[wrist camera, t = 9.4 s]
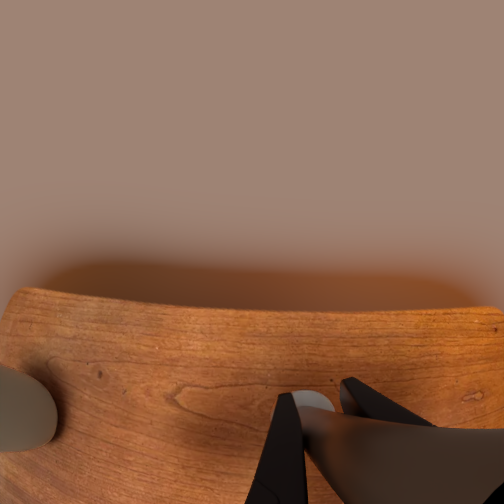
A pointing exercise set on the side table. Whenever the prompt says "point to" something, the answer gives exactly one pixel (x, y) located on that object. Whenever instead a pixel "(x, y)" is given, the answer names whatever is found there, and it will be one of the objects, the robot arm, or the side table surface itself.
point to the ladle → (400, 458)
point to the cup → (24, 412)
